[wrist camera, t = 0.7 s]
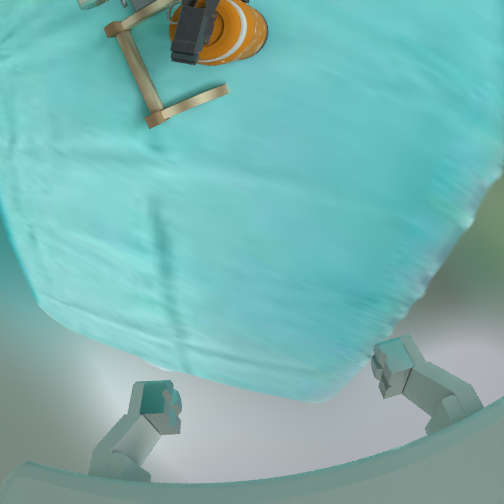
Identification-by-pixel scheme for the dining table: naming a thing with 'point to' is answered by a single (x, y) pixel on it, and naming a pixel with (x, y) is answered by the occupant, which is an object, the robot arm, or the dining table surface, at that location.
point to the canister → (215, 31)
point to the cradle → (140, 72)
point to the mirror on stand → (138, 1)
